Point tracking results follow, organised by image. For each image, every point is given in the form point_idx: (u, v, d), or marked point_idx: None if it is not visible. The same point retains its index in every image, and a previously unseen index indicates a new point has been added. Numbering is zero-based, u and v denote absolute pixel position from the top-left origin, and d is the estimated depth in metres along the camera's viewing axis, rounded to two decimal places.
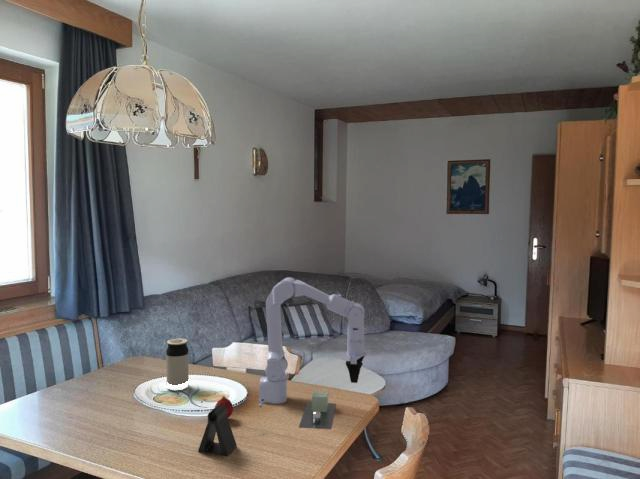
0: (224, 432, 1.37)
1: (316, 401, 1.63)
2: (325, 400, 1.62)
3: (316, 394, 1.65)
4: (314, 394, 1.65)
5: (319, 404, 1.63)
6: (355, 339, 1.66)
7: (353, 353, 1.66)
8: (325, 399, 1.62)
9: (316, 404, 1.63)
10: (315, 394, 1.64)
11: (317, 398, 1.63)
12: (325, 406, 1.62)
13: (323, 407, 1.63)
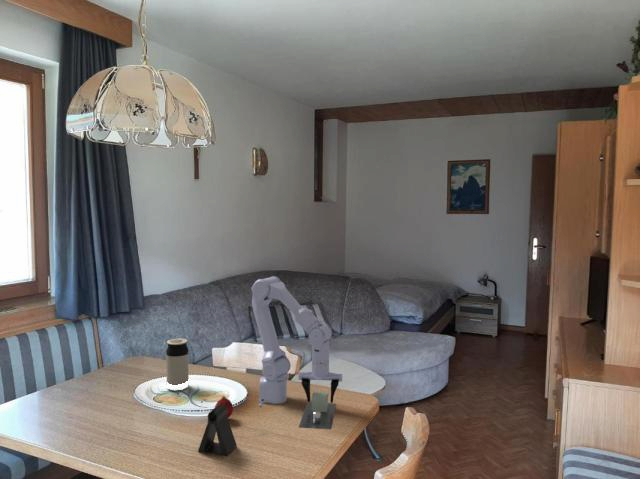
0: (224, 432, 1.37)
1: (316, 401, 1.63)
2: (325, 400, 1.62)
3: (316, 394, 1.65)
4: (314, 394, 1.65)
5: (319, 404, 1.63)
6: (316, 361, 1.62)
7: None
8: (325, 399, 1.62)
9: (316, 404, 1.63)
10: (315, 394, 1.64)
11: (317, 398, 1.63)
12: (325, 406, 1.62)
13: (323, 407, 1.63)
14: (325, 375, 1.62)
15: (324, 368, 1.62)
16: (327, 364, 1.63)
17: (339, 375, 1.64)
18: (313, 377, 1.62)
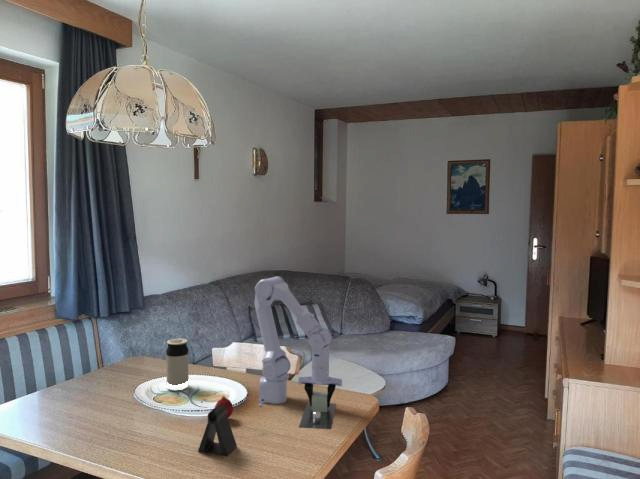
0: (224, 432, 1.37)
1: (316, 401, 1.63)
2: (325, 400, 1.62)
3: (316, 394, 1.65)
4: (314, 394, 1.65)
5: (319, 404, 1.63)
6: (316, 366, 1.62)
7: None
8: (325, 399, 1.62)
9: (316, 404, 1.63)
10: (315, 394, 1.64)
11: (317, 398, 1.63)
12: (325, 406, 1.62)
13: (323, 407, 1.63)
14: (325, 380, 1.62)
15: (324, 373, 1.62)
16: (327, 369, 1.63)
17: (339, 380, 1.64)
18: (313, 382, 1.62)
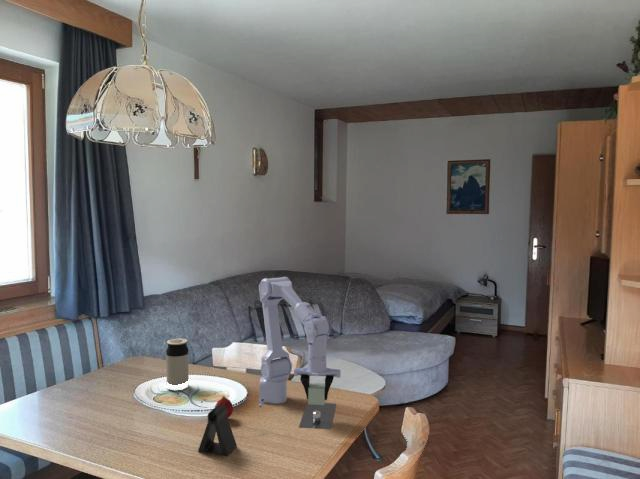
0: (224, 432, 1.37)
1: (313, 393, 1.53)
2: (322, 392, 1.52)
3: (313, 385, 1.55)
4: (311, 386, 1.55)
5: (316, 396, 1.53)
6: (310, 355, 1.52)
7: None
8: (322, 391, 1.52)
9: (313, 396, 1.53)
10: (312, 386, 1.55)
11: (314, 390, 1.53)
12: (322, 399, 1.53)
13: (321, 400, 1.53)
14: (322, 371, 1.52)
15: (321, 363, 1.52)
16: (324, 359, 1.53)
17: (337, 371, 1.54)
18: (309, 373, 1.52)
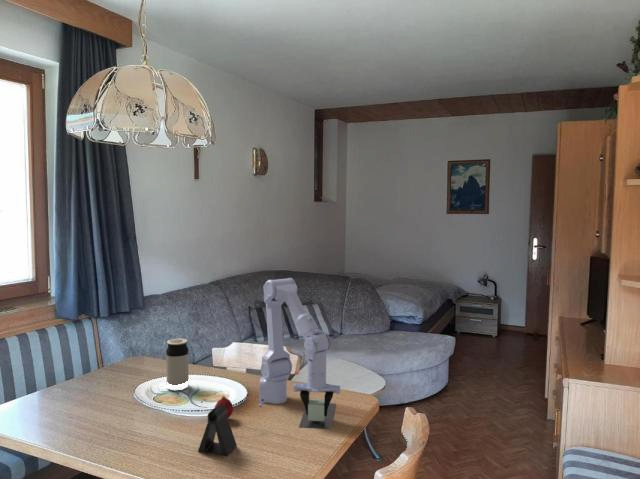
0: (224, 432, 1.37)
1: (313, 409, 1.53)
2: (322, 408, 1.52)
3: (312, 401, 1.55)
4: (310, 402, 1.55)
5: (316, 413, 1.53)
6: (310, 371, 1.53)
7: None
8: (322, 407, 1.52)
9: (312, 413, 1.53)
10: (312, 402, 1.55)
11: (314, 407, 1.53)
12: (322, 415, 1.53)
13: (320, 416, 1.53)
14: (322, 387, 1.52)
15: (321, 380, 1.52)
16: (324, 375, 1.53)
17: (337, 387, 1.54)
18: (309, 389, 1.52)
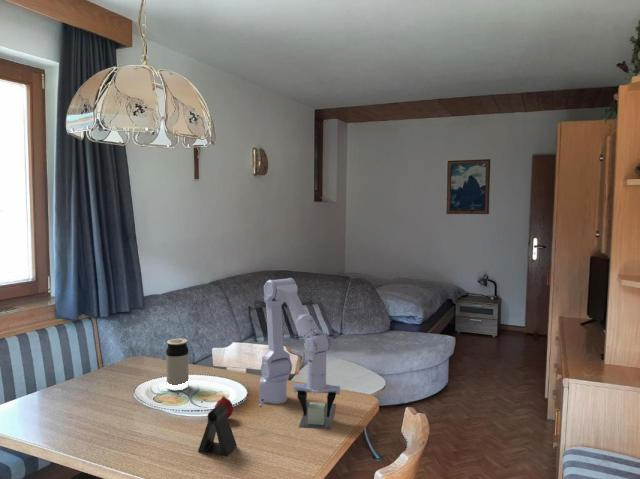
0: (224, 432, 1.37)
1: (313, 413, 1.53)
2: (322, 412, 1.53)
3: (312, 405, 1.55)
4: (310, 406, 1.55)
5: (316, 416, 1.53)
6: (309, 372, 1.53)
7: None
8: (322, 411, 1.53)
9: (312, 416, 1.53)
10: (312, 406, 1.55)
11: (314, 410, 1.53)
12: (322, 419, 1.53)
13: (320, 420, 1.53)
14: (322, 388, 1.52)
15: (321, 380, 1.52)
16: (324, 376, 1.53)
17: (337, 387, 1.54)
18: (309, 390, 1.52)
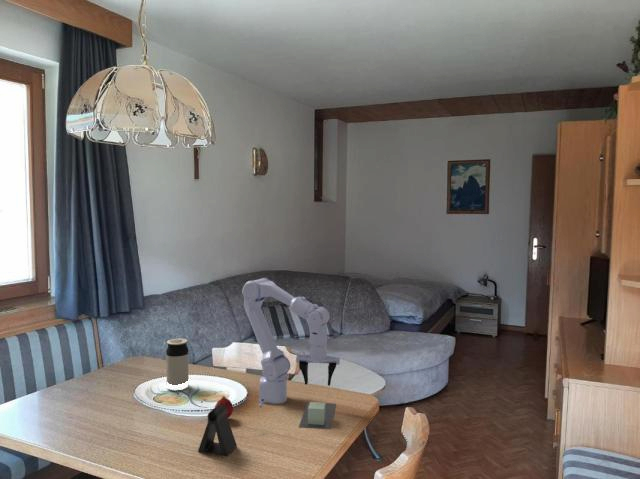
0: (224, 432, 1.37)
1: (313, 413, 1.53)
2: (322, 412, 1.53)
3: (312, 405, 1.55)
4: (310, 406, 1.55)
5: (316, 416, 1.53)
6: (314, 344, 1.62)
7: None
8: (322, 411, 1.53)
9: (312, 416, 1.53)
10: (312, 406, 1.55)
11: (314, 410, 1.53)
12: (322, 419, 1.53)
13: (320, 420, 1.53)
14: (322, 358, 1.63)
15: (322, 351, 1.62)
16: (325, 347, 1.63)
17: (337, 358, 1.64)
18: (310, 360, 1.63)
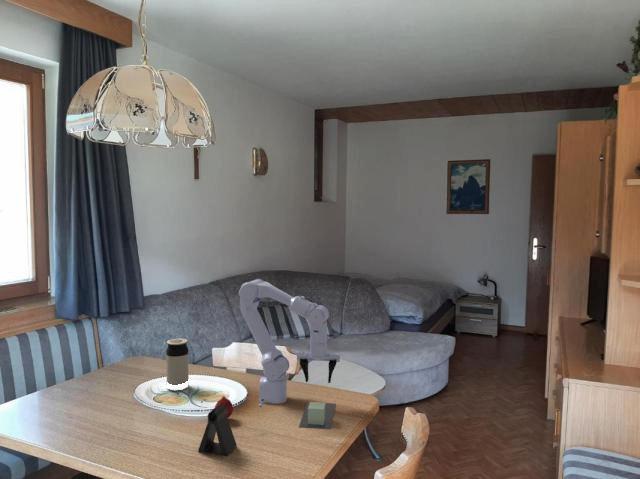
0: (224, 432, 1.37)
1: (313, 413, 1.53)
2: (322, 412, 1.53)
3: (312, 405, 1.55)
4: (310, 406, 1.55)
5: (316, 416, 1.53)
6: (316, 342, 1.64)
7: None
8: (322, 411, 1.53)
9: (312, 416, 1.53)
10: (312, 406, 1.55)
11: (314, 410, 1.53)
12: (322, 419, 1.53)
13: (320, 420, 1.53)
14: (323, 355, 1.65)
15: (322, 349, 1.65)
16: (325, 345, 1.66)
17: (337, 356, 1.66)
18: (311, 357, 1.65)
